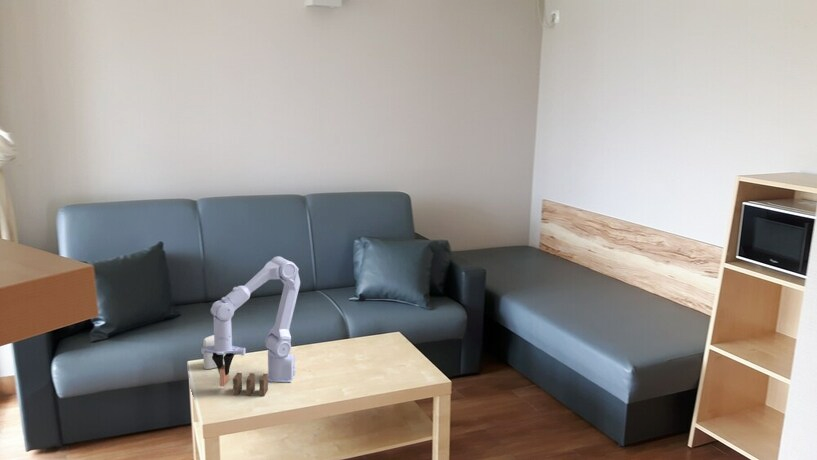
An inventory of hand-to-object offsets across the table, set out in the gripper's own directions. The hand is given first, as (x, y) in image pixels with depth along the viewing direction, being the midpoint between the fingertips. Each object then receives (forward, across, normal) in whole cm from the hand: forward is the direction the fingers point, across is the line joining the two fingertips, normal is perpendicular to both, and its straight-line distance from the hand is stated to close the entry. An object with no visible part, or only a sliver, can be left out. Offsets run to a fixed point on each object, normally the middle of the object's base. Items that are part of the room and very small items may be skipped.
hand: (224, 373), depth 211 cm
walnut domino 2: (+7, +9, 0) cm, 11 cm away
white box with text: (+7, -10, +20) cm, 24 cm away
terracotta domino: (+3, 0, 0) cm, 3 cm away
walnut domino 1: (+7, +4, 0) cm, 8 cm away
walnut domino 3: (+7, +14, 0) cm, 15 cm away
